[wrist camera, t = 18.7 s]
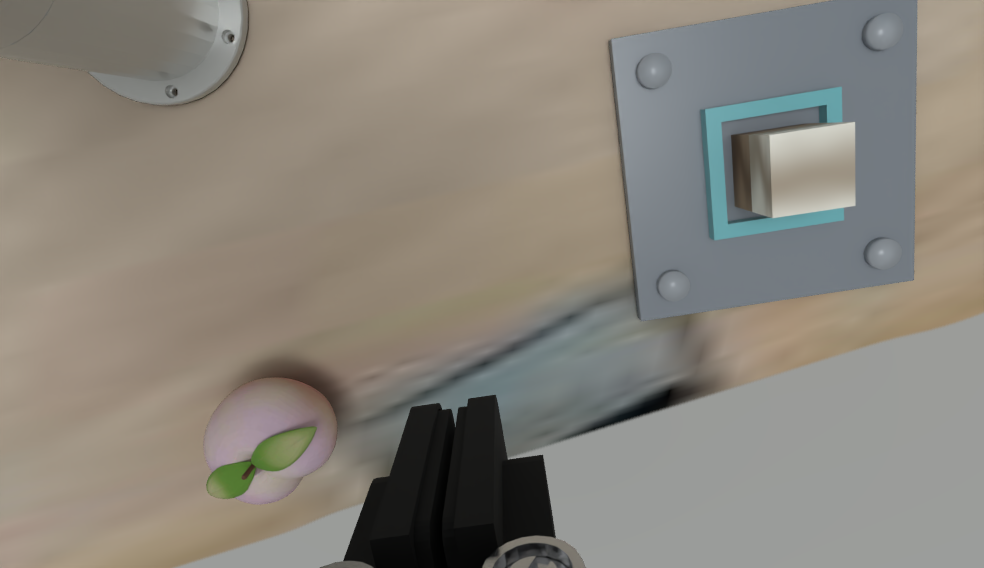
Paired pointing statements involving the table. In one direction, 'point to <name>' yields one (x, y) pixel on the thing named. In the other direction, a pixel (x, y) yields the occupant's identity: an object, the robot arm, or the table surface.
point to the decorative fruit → (267, 439)
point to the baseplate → (753, 107)
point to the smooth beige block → (794, 169)
